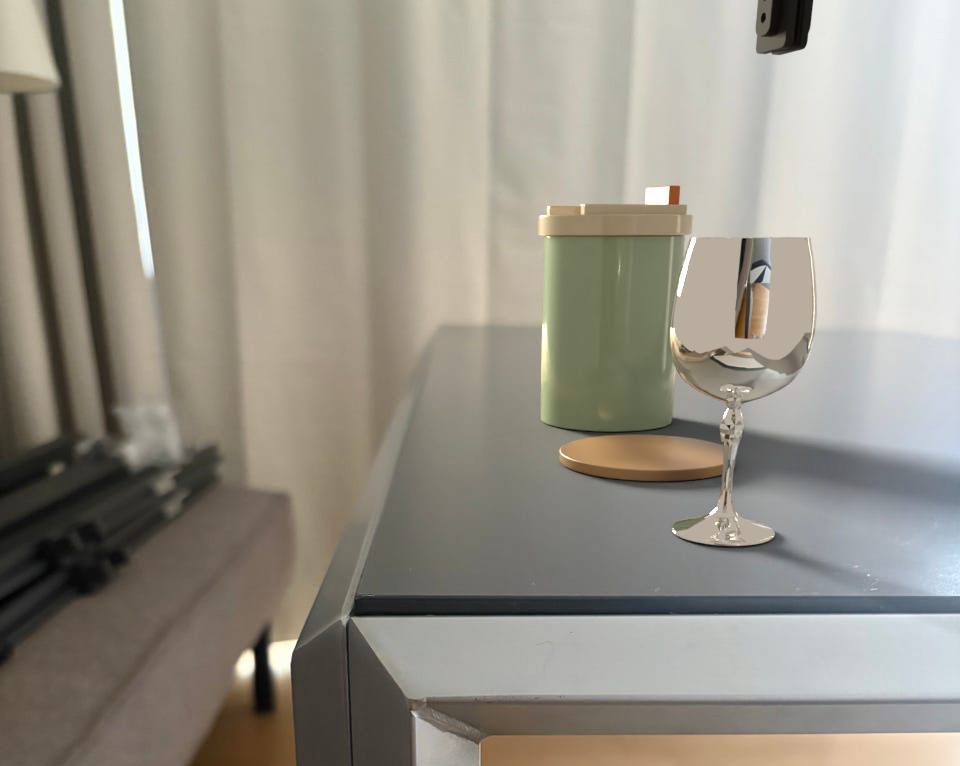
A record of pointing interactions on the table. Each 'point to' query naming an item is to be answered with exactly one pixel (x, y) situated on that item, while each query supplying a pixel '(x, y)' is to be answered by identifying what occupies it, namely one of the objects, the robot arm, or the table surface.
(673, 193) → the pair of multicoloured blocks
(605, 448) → the coaster
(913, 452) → the table surface
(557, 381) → the green storage canister
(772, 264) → the wineglass
